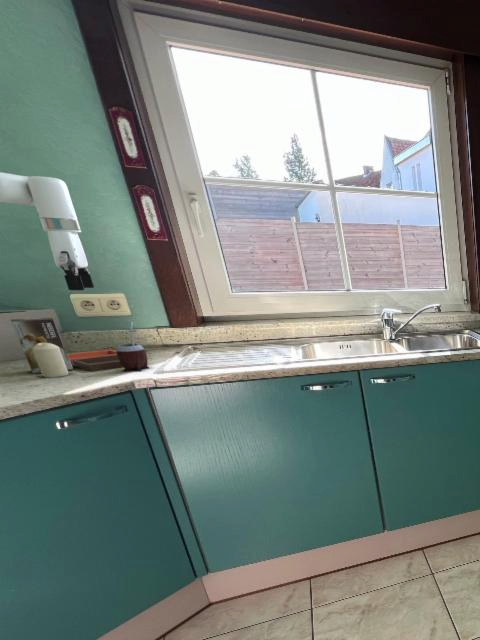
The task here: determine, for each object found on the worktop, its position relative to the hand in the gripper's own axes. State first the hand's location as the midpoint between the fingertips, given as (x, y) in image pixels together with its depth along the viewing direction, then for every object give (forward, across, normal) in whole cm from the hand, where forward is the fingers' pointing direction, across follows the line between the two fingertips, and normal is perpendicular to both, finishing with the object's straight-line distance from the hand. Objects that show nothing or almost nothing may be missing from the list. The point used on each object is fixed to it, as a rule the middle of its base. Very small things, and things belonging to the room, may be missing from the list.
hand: (82, 288), depth 146 cm
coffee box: (+26, -13, -16) cm, 34 cm away
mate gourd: (+26, -5, +6) cm, 27 cm away
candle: (+26, -4, -13) cm, 29 cm away
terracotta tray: (+26, -28, -10) cm, 40 cm away
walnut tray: (+26, -16, -3) cm, 31 cm away
